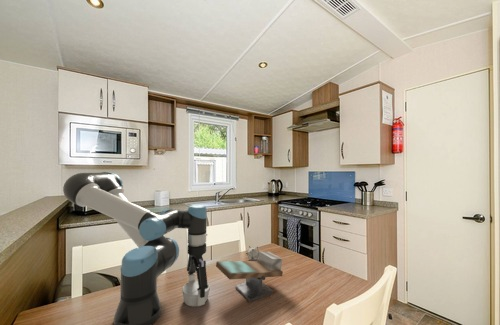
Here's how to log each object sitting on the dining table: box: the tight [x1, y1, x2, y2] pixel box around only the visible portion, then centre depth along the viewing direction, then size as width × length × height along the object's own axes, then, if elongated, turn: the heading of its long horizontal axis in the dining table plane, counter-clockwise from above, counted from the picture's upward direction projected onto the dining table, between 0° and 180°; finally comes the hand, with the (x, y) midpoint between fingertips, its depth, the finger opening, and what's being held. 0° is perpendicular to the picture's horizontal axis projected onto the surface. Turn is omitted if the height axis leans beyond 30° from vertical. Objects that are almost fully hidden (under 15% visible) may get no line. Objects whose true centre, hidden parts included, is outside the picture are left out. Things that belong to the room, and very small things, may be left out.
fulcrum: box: [235, 278, 274, 303], centre depth 95 cm, size 12×12×7 cm
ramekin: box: [181, 279, 211, 307], centre depth 88 cm, size 11×11×5 cm
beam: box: [215, 250, 284, 281], centre depth 94 cm, size 27×15×8 cm, turn 123°
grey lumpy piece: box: [245, 245, 259, 261], centre depth 126 cm, size 9×8×10 cm
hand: (196, 296), depth 88 cm, fingers closed on ramekin, 11 cm apart
